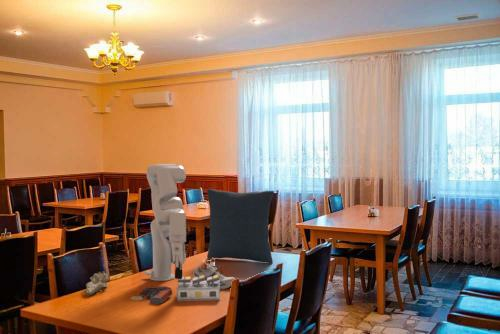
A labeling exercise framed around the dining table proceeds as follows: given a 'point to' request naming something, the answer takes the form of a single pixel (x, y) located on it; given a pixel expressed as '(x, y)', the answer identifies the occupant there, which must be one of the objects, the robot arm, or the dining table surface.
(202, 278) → the switch
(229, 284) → the athletic shoe
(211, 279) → the switch
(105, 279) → the skull
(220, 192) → the pillow
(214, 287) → the switch unit
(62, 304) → the dining table surface
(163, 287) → the toy gun
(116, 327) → the dining table surface
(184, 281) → the switch
